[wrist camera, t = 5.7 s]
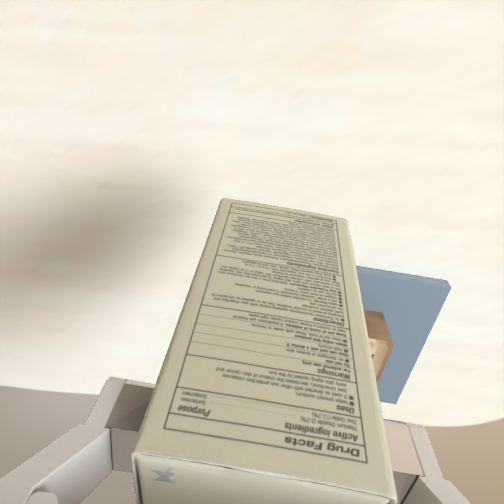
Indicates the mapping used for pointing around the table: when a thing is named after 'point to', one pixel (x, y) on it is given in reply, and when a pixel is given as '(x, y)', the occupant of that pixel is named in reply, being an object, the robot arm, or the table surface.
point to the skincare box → (267, 373)
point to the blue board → (401, 319)
